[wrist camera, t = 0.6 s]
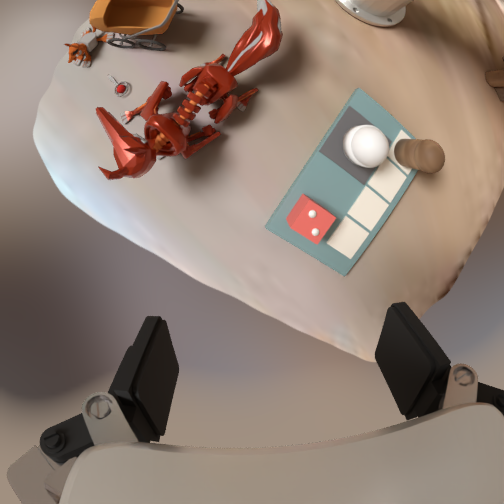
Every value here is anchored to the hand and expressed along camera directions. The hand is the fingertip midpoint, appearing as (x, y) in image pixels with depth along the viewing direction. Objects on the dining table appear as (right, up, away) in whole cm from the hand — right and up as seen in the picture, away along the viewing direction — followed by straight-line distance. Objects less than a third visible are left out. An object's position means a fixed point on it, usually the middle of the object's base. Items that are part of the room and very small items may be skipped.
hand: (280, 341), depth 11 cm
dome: (+12, +17, +19) cm, 28 cm away
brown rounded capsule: (+20, +17, +21) cm, 34 cm away
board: (+13, +13, +24) cm, 30 cm away
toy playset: (-11, +29, +17) cm, 36 cm away
